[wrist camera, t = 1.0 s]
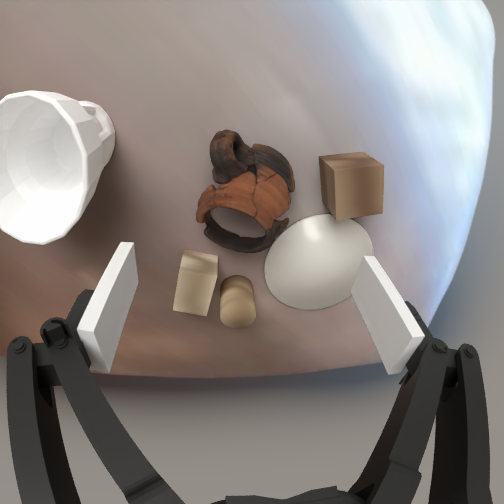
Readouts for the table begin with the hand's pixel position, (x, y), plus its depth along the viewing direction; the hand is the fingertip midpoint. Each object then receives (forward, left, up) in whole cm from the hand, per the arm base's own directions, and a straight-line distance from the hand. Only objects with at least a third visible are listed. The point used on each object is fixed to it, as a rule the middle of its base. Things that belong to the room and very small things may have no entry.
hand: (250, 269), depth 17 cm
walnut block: (+11, +2, -16) cm, 19 cm away
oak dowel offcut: (+1, -14, -16) cm, 21 cm away
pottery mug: (0, 0, -16) cm, 16 cm away
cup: (-17, +4, -16) cm, 24 cm away
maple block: (-4, -12, -16) cm, 20 cm away
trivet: (+11, -10, -16) cm, 21 cm away
